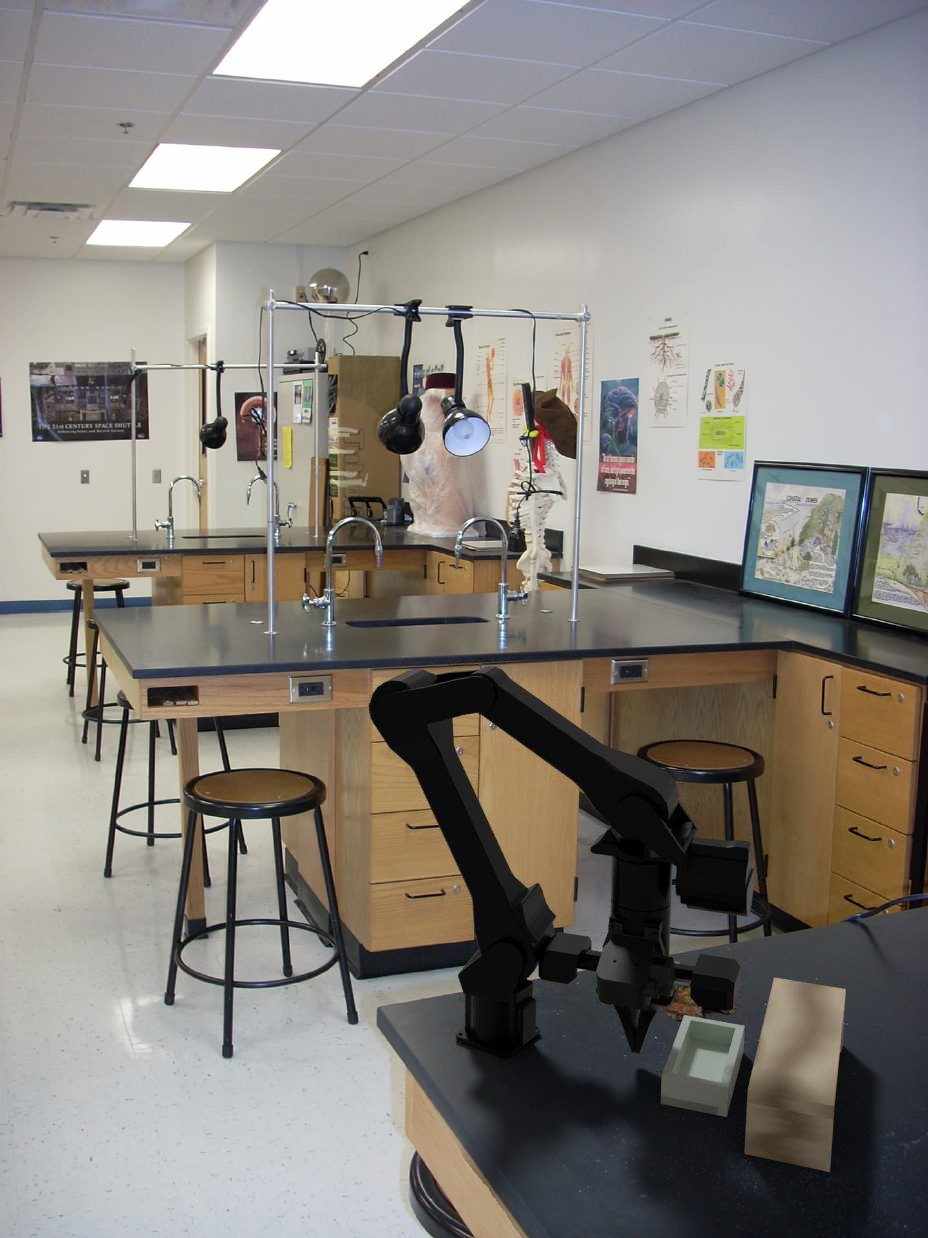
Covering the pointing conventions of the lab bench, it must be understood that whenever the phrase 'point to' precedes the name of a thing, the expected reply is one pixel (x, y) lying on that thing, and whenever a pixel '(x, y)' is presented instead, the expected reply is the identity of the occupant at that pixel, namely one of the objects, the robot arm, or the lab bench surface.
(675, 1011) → the butterfly model
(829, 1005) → the tan rectangular block
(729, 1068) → the tray
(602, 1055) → the lab bench surface
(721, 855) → the robot arm
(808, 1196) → the lab bench surface
